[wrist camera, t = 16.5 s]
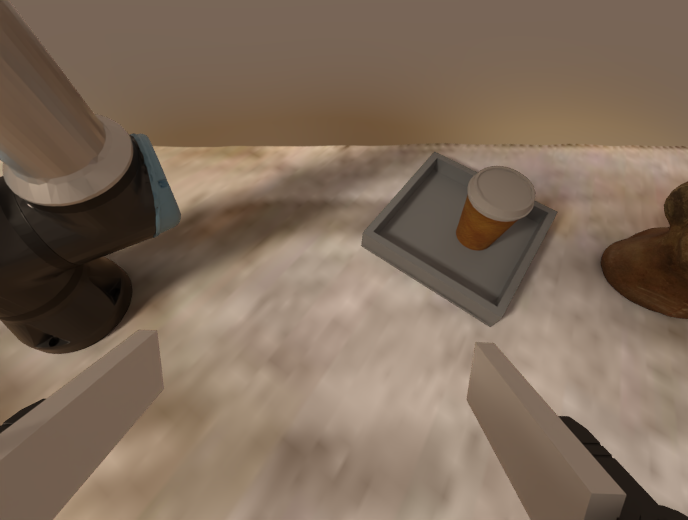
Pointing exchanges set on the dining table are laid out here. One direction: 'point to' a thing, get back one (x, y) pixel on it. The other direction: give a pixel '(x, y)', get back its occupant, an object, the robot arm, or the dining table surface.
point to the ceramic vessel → (654, 262)
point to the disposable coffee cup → (493, 206)
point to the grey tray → (454, 241)
